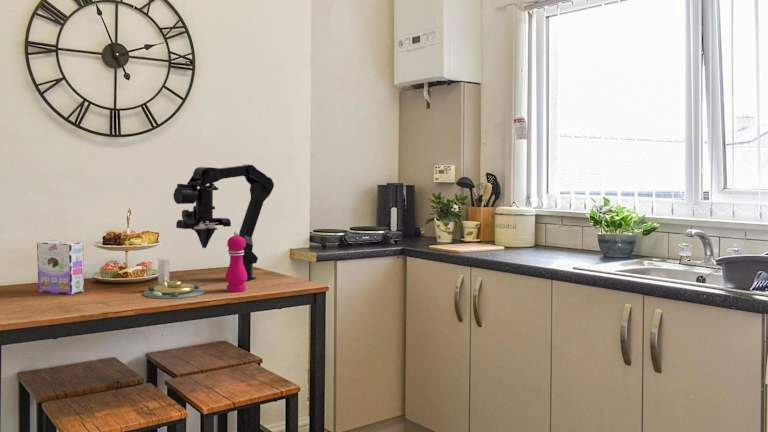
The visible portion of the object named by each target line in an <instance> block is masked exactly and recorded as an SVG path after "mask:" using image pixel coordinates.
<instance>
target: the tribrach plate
mask: <svg viewBox="0 0 768 432" xmlns="http://www.w3.org/2000/svg"><path fill="white" fill-rule="evenodd" d="M193 285H194V291H192V292H188V293H182V294H178V292H172V293H171V294H161V293H160V292H156V291H154V287H155V286H156V285H155V286H154V285H150V286H148V289H146V290H144V292H143V294H144V295H143V296H144V297H146V296H147V298H149V297H150V299H157V298H159V300H164V299H165V300H168V299H169V300H177V299H187V298H188V299H189V298H193V297H195V298H196V297H198V296H202V295H204V294H205V289H203V288H201V287H200V284H193Z"/></svg>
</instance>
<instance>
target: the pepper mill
mask: <svg viewBox="0 0 768 432" xmlns="http://www.w3.org/2000/svg"><path fill="white" fill-rule="evenodd" d="M239 232H240V231H237V230H235V231H234V232H233V236H230V237H229V238H228V240H227V243H226V245H227V248H228V250H229V249H230V250H229V252H228V255H229V257H230V258H229V265H228V268H227V270H226V272H225V279H224V280H225V281H226V283H228V284H227V285H226V291H227V292H229V293H242V292H245V291H246V290H247V288H246V287H247V285H246V284H245V283H246V282H247V281H246V280H247V273H246V270H245V268H244V265H243V259H242V258H243V255H244V250H243V249H244V247H245V245H246V242H245V240H244V238H243V237H241V236H239Z"/></svg>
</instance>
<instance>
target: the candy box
mask: <svg viewBox="0 0 768 432" xmlns="http://www.w3.org/2000/svg"><path fill="white" fill-rule="evenodd" d="M36 249H37V250H36V251H37V252H36V254H37V284H38V285H37V286H38V287H37V288H38V290H37V291H38V292H39V293H46V294H47V293H48V294H49V293H50V294H60V295H61V294H62V295H76V294H81V293H84V292H85V291H84V290H85V286H84V284H85V281H84V280H85V279H84V277H85V276H84V274H85V273H84V241H83V242H81V241H80V242H79V241H65V240H42V241H37V242H36Z"/></svg>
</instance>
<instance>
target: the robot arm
mask: <svg viewBox="0 0 768 432" xmlns="http://www.w3.org/2000/svg"><path fill="white" fill-rule="evenodd" d="M237 177H239V178H240V177H244V178H245V181H246V182H247V183H248V184H249V185H250V188H249V193H250V200H249V203H248V206H247V209H246V211H245V214H244V217H243V220H242V223H241V227H240V230H239V231H238V232H239V236H241V237H243V238H244V240H245V242H246V245H245V247H244V249H243V250H244V255H243V258H242V259H243V265H244V268H245V270H246V273H247V280H246V282H247V281H251V280H255V279H257V276H254V275H253V274H254V264H257V262H258V259H259V257H258V256H257V255H256V254H255V253H254V252H253V247H254V245H253V244H254V243H253V235H254V232H255V229H256V226H257V224H258V223H257V222H258V220H259V217H260V214H261V211H262V208H263V205H264V202H265V200H267V199H268V197H269V196H270V195H271V194H272V192H273V189H274V187H275V183H274V181H273V179H272V178H271V177H270V176H268V175H266V174H265V173H264V172H262V171H261V170H259V169H257V168H256V166H255V165H253V164H242V165H236V166H235V165H234V166H227V167H226V166H225V167H219V168H218V167H209V166H208V167H207V166H205V167H204V166H199V167H196V168H195V169H194V170H193V173H192V176H191V177H190V178H189V180H188V182H187V183H186V184H185V183H177V184H176V188H175V189H174V193H173V200H174V203H176V204H178V205H185V204H186V205H187V204H195V205H193V207H192V210H191V211H190V210H189V209H183V210H182V211H181V218H182V219H178V220H177V221H176V225H175V226H176V227H175V228H176V229H182V230H192V231H194V232H195V233H196V235H197V236H198V239H199V242H200V245H201V248H202V249H206V248H207V246H208V245H209V243H210V241H211V239H212V236H213V235H214V233H215V231H217V230H218V227H216V226H222V227H224V228H225V227H231V226H232V222H231V219H230V218H228V217H213V213H214V212H213V211H214V210H215V209H216V206H214V202H213V201H214V195H213V193H214V191H218V190H219V188H218V186H216V185H215V184H214V183H216V182H219V181H220V180H223V179H230V178H237ZM229 250H230V249H229V248H228V253H229Z"/></svg>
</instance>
